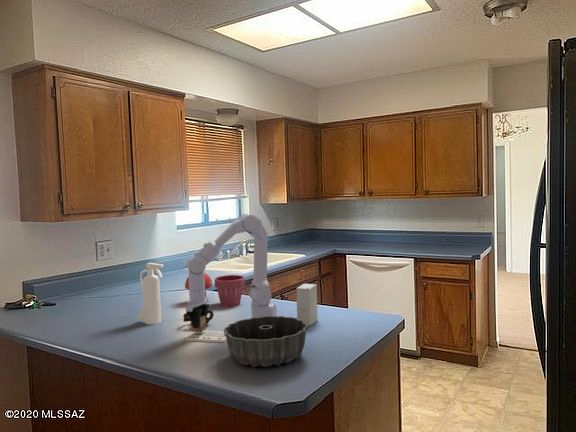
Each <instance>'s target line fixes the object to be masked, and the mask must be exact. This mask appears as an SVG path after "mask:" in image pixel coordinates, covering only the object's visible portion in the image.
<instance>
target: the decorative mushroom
mask: <svg viewBox="0 0 576 432" xmlns="http://www.w3.org/2000/svg"><path fill="white" fill-rule="evenodd" d="M204 280H205V297H208V296H207V289H210V288H212V287H213V286H214V285H213V280H212V278H211V276H209V274H207V273H205V272H204ZM184 289H186V290H188V291H189V276H188V277H186V280H185V283H184Z"/></svg>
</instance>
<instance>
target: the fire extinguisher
mask: <svg viewBox="0 0 576 432" xmlns="http://www.w3.org/2000/svg"><path fill="white" fill-rule="evenodd" d="M164 266H165V265H164V264H162V263H155V262H147V263H146V264H145V268H147V269H143V270H142V271H140V272H139V273H140V274H139V281H140V285H141V293H142V303H143V305H142V309H141V310H140V312H139V314H138V317H137V318H138V321H144V324H145V325H156V324H159V323H160V324H161V322H162V310H161V292H160V291H161V289H160V279H162V278H163V273H162V271H160V268H161V269H163V268H164ZM145 272H146V274H147V275H146V276H144V277H143V274H144V273H145ZM154 272H155V273H154ZM155 274H156V275H155ZM142 278H143V279H142Z"/></svg>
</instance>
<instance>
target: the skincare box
mask: <svg viewBox="0 0 576 432" xmlns="http://www.w3.org/2000/svg"><path fill="white" fill-rule="evenodd" d="M296 318H297V319H299V320H303V321H304V323H306V324H307V325H308V327H310V326H312V325H313V324H315V323H316V322H317V321H318V320H319V319H318V285H317V284H313V283H302V284H301V285H300V286H298V287H296Z"/></svg>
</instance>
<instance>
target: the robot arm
mask: <svg viewBox="0 0 576 432" xmlns="http://www.w3.org/2000/svg"><path fill="white" fill-rule="evenodd" d="M245 232H246V233H248V234H249V236H250V237H251V238H253V279H252V281H251V287H250V289H249V291H248V295H249V297H250V299H251V303H250V304H251V306H250V307H251V318H253V317H264V316H276V317H277V316H278V315H277V314H278V313H277V311H278V310H277V305H276V304H274V303H271V300H272V292H271V290H270V284H269V281H268V275H267V274H268V231H267V230H266V228H265V226H264V224H263V223H262V219H260V218H259V217H258V216H256V215H255V214H246V213H243V214H241V215H240V216H238V218H236V219H235V220H233V221H232V222H231V223H230V224H229V226H227V227H226V228H225V230H224V231H223V232H222V233H220V235H219V236H218V237H217V238H216V239H215V240H214V241H208V242H205V243H203V246H202V248H200V250H199V251H198V252H195V253H194V254H193V255H194V256H191V257H190V258H189V259H188V260H187V263H186V265H185V266H186V268H187V270H188V277H189V290H188V291H189V292H188V295H189V296H188V297H189V300H187V301H186V304H187V305H186V306H185V311H186V312H185V313H187V314H188V315H189V317H190V319H191V321H190V323H191V322H192V326H193V328H199V325H200V315H202V316H205V318H206V313H207V310H209V308H210V304H209V302H210V301H209V296H207V297H205V280H204V273H205V270H206V267H207V265H208V264H210V263H211V262H212V261H213V260H214V259H215V258H216V257H217V256H218V255H219V254H220V253H221V247H223V246H224V245H225V244H227V243H228V241H229V240H231V239H233V237H234V236H235V235H237V234H242V233H245Z"/></svg>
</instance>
